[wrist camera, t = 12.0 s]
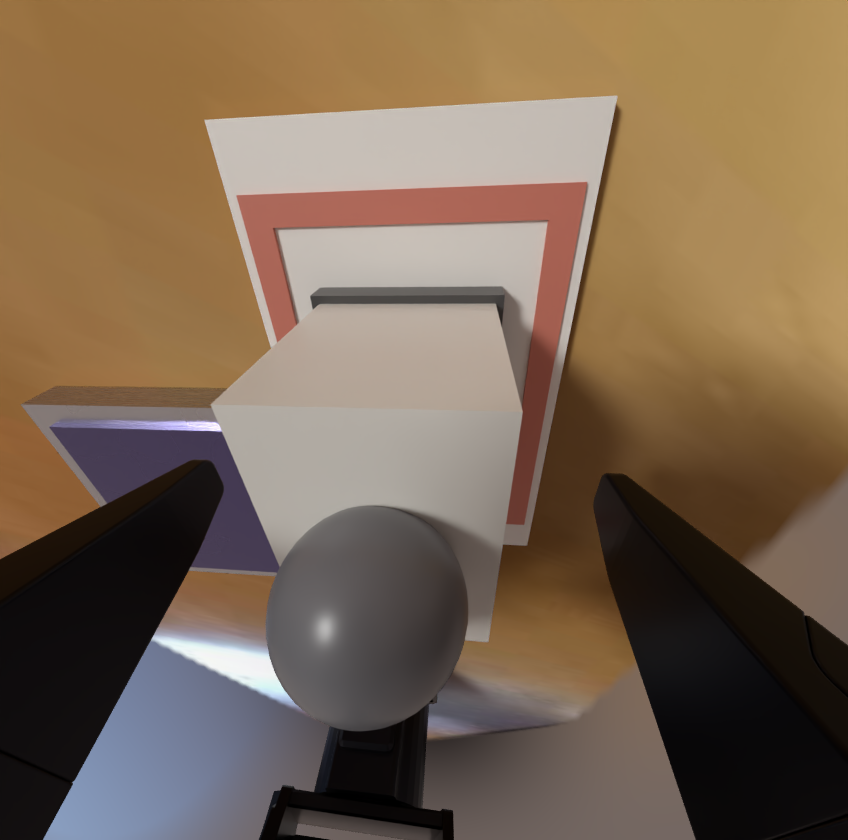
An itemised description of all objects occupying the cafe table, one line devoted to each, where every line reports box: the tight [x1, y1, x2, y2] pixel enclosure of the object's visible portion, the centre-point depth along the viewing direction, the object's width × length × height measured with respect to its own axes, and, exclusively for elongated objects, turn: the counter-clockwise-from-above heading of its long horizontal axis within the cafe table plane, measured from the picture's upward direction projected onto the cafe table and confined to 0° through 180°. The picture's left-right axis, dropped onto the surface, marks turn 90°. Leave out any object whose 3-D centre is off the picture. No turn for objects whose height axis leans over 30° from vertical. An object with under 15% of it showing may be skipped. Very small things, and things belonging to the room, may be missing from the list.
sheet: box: [205, 96, 617, 546], centre depth 11 cm, size 14×9×1 cm, turn 2°
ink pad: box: [21, 387, 280, 576], centre depth 14 cm, size 9×8×2 cm
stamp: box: [210, 286, 523, 731], centre depth 8 cm, size 5×7×8 cm
